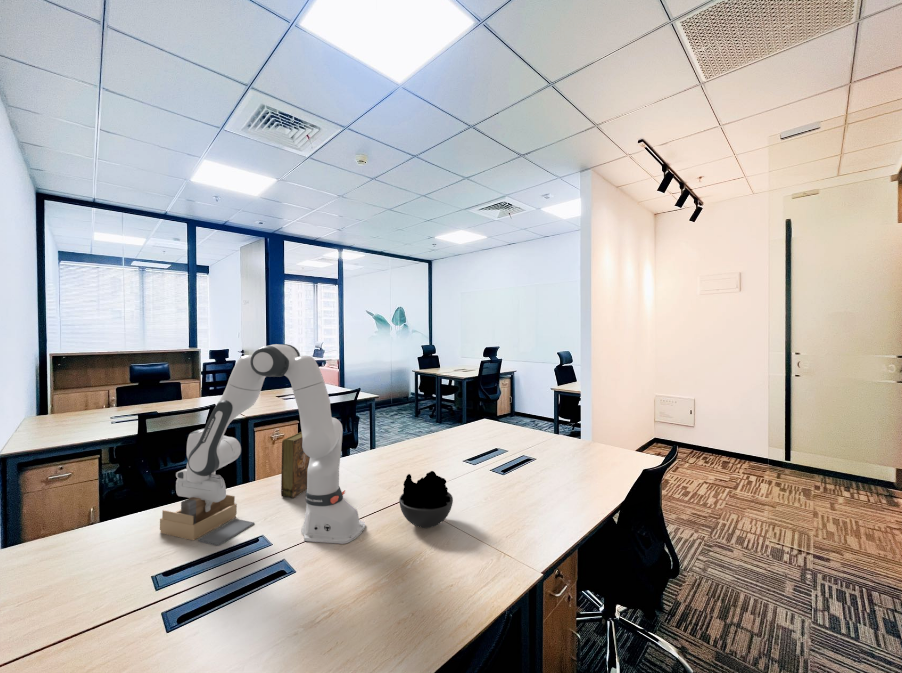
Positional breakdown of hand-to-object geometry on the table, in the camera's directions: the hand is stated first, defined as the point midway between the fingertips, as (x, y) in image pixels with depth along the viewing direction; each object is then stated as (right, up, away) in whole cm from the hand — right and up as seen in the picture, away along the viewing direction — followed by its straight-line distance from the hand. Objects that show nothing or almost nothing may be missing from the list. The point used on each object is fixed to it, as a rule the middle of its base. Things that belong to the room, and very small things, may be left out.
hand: (201, 510), depth 136 cm
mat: (+13, -6, -5) cm, 15 cm away
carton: (0, -5, 0) cm, 5 cm away
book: (+23, -6, +30) cm, 39 cm away
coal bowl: (+83, -7, +2) cm, 83 cm away
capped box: (0, -4, 0) cm, 4 cm away
